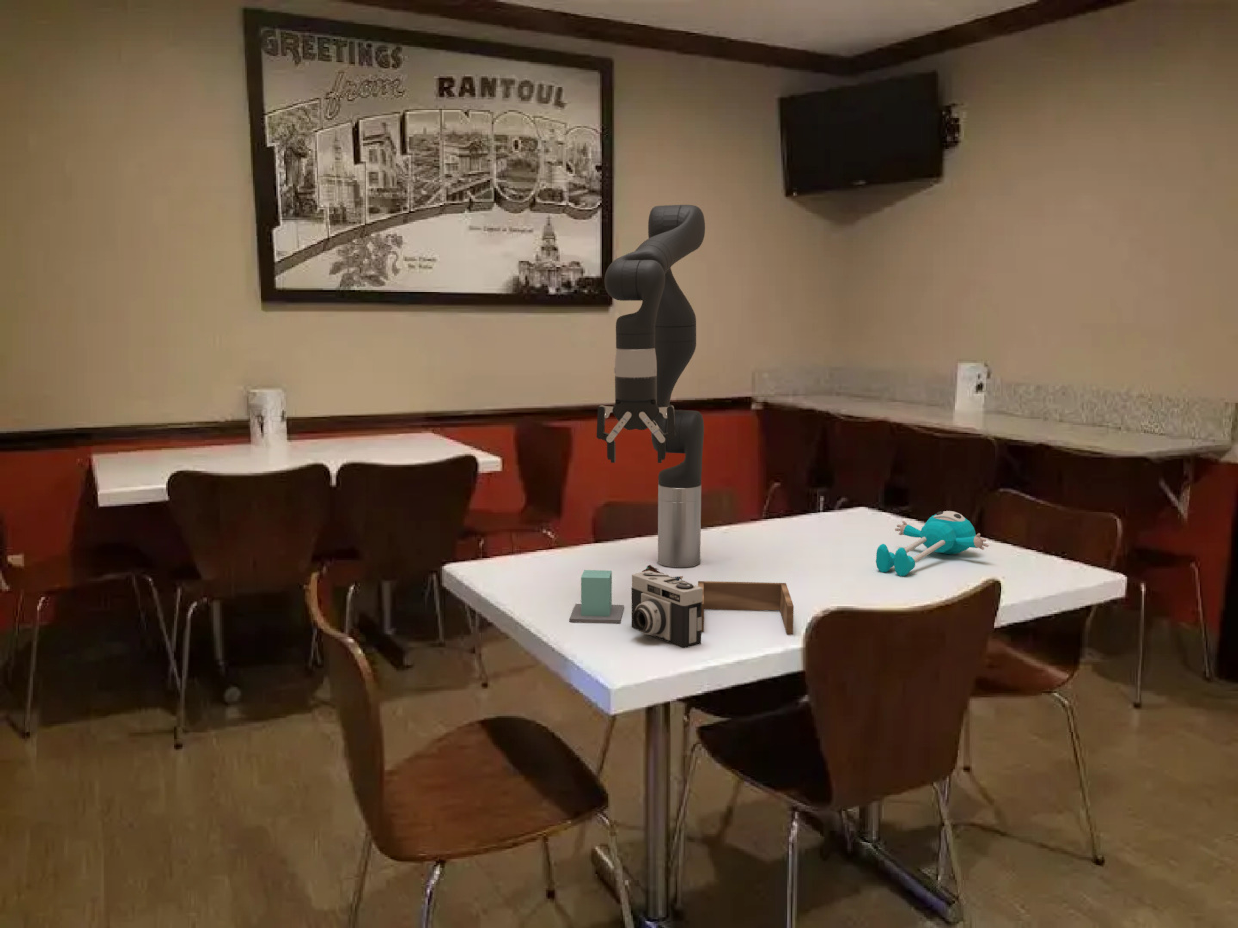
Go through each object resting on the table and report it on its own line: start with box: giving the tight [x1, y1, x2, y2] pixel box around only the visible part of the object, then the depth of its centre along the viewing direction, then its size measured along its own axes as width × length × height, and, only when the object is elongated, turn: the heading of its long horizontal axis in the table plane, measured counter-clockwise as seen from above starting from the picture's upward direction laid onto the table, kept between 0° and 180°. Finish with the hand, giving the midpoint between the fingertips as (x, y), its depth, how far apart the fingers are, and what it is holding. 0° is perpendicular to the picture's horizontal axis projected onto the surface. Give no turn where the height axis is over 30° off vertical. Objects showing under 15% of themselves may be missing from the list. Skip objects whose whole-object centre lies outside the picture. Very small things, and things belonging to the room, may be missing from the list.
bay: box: [697, 580, 795, 635], centre depth 171 cm, size 14×16×5 cm
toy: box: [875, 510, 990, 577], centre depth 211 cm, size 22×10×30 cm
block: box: [580, 569, 613, 616], centre depth 174 cm, size 5×5×7 cm
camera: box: [631, 571, 702, 649], centre depth 162 cm, size 14×8×10 cm, turn 38°
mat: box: [568, 603, 625, 624], centre depth 175 cm, size 9×9×1 cm
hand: (636, 462), depth 177 cm, fingers open, 8 cm apart
